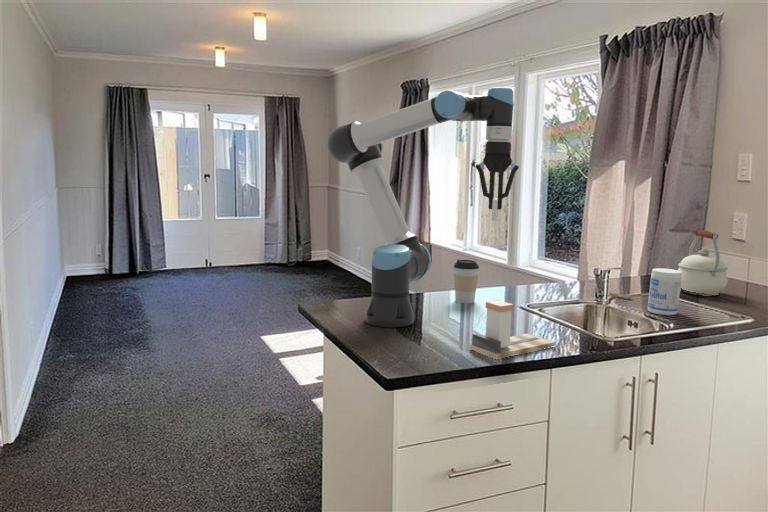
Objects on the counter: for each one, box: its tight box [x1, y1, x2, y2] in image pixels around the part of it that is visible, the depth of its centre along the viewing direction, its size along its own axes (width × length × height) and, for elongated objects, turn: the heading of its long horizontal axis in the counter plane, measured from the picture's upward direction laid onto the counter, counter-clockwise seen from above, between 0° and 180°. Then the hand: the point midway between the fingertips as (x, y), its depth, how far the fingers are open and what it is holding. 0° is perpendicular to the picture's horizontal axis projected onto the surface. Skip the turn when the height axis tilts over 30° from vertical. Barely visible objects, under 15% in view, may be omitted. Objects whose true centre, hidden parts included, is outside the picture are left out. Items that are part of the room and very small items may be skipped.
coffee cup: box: [453, 259, 480, 305], centre depth 227 cm, size 9×9×15 cm
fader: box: [485, 300, 514, 348], centre depth 168 cm, size 5×6×11 cm
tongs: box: [608, 292, 634, 302], centre depth 241 cm, size 4×13×2 cm, turn 38°
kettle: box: [677, 228, 729, 294], centre depth 252 cm, size 25×18×25 cm
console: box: [469, 332, 556, 361], centre depth 172 cm, size 22×10×4 cm, turn 124°
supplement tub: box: [647, 267, 682, 316], centre depth 217 cm, size 10×10×15 cm
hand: (494, 220), depth 192 cm, fingers closed
